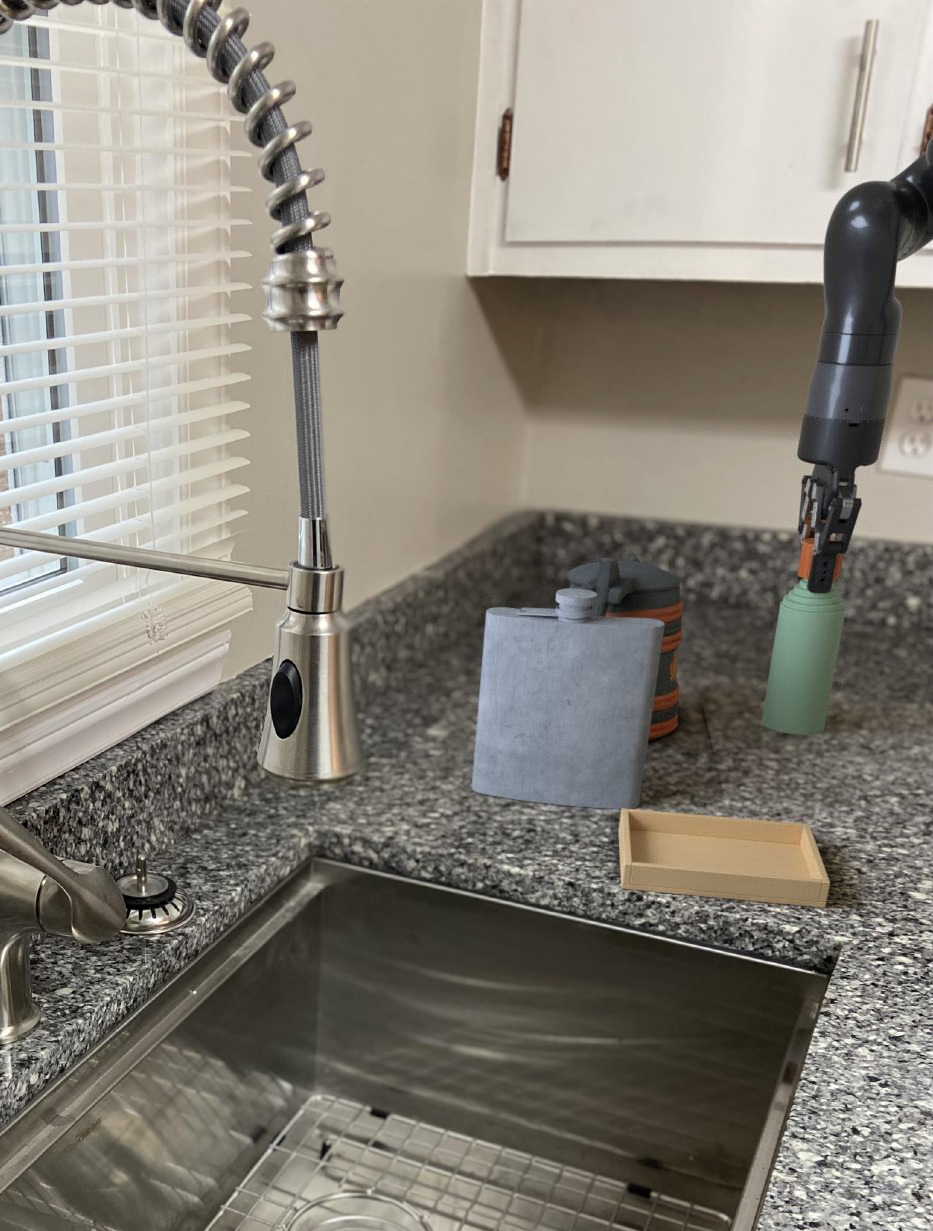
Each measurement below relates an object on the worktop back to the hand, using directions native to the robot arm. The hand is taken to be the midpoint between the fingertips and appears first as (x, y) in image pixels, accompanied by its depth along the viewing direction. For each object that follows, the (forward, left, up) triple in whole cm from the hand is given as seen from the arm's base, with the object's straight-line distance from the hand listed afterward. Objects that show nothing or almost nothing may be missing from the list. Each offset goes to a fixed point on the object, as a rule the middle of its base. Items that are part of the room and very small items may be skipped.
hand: (813, 586), depth 145 cm
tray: (+10, +37, -16) cm, 41 cm away
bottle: (-1, 0, -16) cm, 16 cm away
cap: (0, 0, +1) cm, 1 cm away
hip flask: (+24, +24, -16) cm, 38 cm away
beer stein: (+19, +3, -16) cm, 25 cm away
